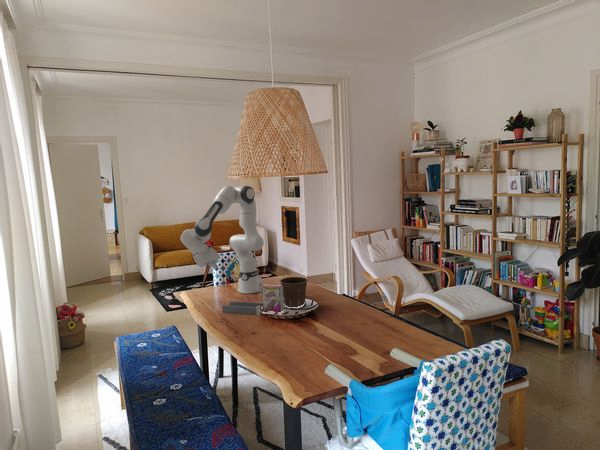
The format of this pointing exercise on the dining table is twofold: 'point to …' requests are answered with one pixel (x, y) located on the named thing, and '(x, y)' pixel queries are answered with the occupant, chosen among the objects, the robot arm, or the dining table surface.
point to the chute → (243, 308)
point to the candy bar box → (272, 297)
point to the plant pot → (294, 291)
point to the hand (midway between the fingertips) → (216, 267)
